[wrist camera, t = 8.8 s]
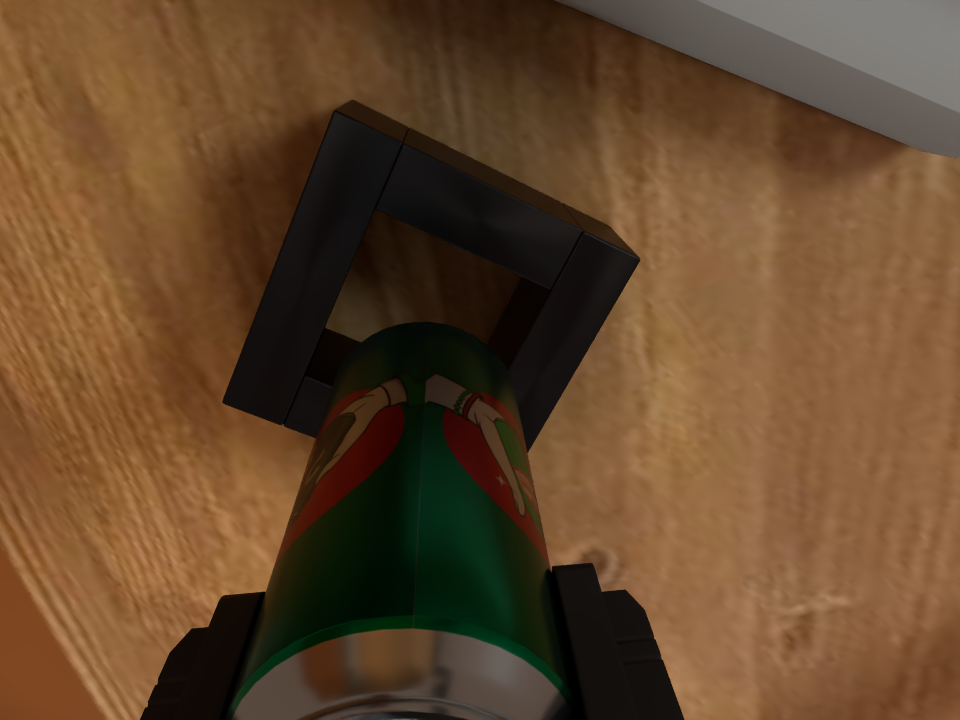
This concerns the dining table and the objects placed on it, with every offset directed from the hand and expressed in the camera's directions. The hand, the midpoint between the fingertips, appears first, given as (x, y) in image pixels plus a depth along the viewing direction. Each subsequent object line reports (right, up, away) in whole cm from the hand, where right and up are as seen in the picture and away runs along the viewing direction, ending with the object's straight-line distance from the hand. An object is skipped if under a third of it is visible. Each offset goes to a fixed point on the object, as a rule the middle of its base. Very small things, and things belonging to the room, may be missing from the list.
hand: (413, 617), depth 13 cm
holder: (-1, +8, +18) cm, 19 cm away
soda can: (0, +4, +7) cm, 8 cm away
